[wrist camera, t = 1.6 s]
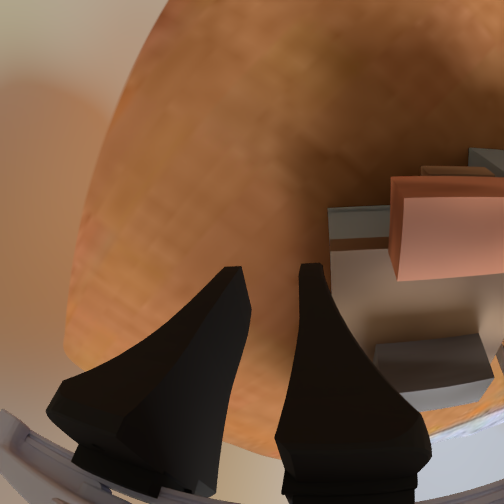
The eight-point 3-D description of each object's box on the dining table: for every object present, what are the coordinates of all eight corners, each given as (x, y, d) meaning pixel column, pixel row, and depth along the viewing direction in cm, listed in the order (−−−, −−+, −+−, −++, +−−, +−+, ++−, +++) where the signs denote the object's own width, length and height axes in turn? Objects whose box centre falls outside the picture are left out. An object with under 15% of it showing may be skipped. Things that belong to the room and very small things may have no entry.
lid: (463, 384, 23) (473, 435, 18) (330, 398, 27) (327, 453, 22) (537, 166, 12) (596, 212, 7) (324, 164, 15) (329, 217, 10)
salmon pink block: (511, 245, 13) (530, 270, 11) (388, 251, 15) (397, 281, 13) (525, 178, 11) (549, 198, 9) (390, 176, 13) (404, 198, 11)
